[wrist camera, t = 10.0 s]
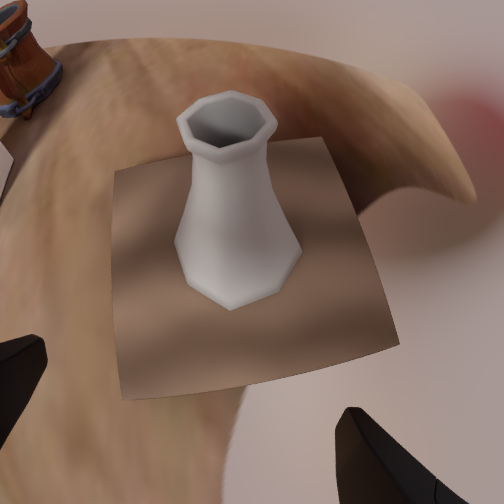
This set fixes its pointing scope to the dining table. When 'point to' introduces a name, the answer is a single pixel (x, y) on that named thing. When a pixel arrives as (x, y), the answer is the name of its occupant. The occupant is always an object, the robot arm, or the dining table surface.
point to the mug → (23, 64)
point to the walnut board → (253, 314)
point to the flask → (232, 203)
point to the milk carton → (4, 166)
